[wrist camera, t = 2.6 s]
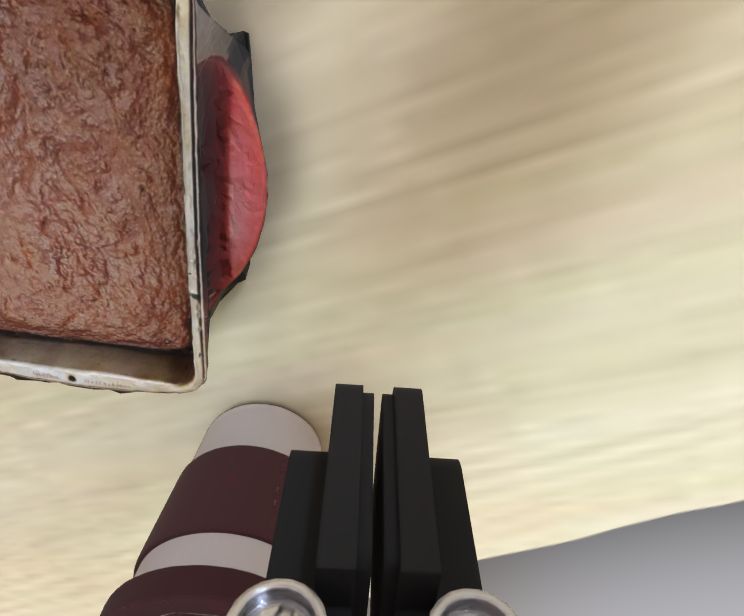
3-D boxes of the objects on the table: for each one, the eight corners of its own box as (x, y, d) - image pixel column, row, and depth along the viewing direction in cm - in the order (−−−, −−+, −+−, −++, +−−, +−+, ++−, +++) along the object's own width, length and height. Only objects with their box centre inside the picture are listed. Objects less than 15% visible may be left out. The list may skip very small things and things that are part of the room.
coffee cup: (347, 499, 38) (328, 770, 25) (200, 500, 38) (105, 767, 25) (339, 381, 33) (310, 640, 20) (170, 382, 33) (34, 639, 20)
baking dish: (3, 250, 31) (-110, 384, 24) (-101, -161, 20) (-379, -160, 13) (266, 286, 33) (240, 420, 26) (301, -69, 22) (276, -19, 15)
